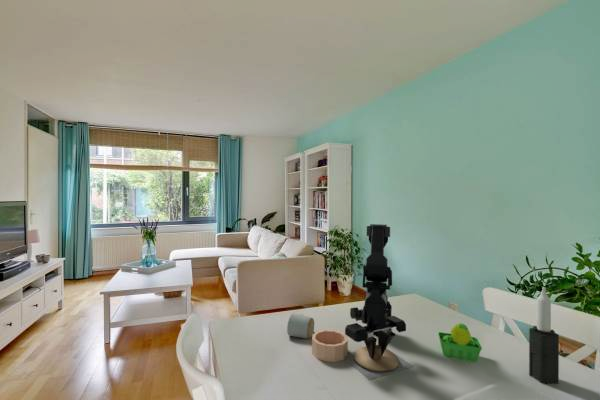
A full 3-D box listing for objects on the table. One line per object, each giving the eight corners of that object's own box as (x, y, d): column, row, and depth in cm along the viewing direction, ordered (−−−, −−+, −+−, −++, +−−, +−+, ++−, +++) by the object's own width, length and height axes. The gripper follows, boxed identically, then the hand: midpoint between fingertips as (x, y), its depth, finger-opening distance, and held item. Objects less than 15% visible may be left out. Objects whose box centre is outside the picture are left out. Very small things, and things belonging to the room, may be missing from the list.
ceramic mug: (309, 343, 100) (309, 320, 101) (286, 339, 103) (286, 316, 103) (317, 330, 110) (317, 309, 111) (296, 327, 113) (296, 307, 113)
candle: (526, 373, 84) (527, 284, 84) (543, 372, 84) (544, 284, 84) (543, 384, 78) (543, 289, 79) (561, 383, 79) (561, 289, 79)
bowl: (335, 342, 101) (335, 327, 101) (354, 358, 91) (354, 341, 91) (306, 349, 96) (306, 333, 96) (323, 366, 86) (323, 349, 86)
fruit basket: (476, 353, 95) (476, 317, 95) (483, 367, 86) (484, 328, 87) (437, 347, 99) (437, 312, 99) (440, 360, 90) (440, 323, 90)
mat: (381, 346, 98) (381, 344, 98) (413, 367, 86) (413, 366, 86) (340, 356, 92) (340, 355, 92) (369, 381, 79) (369, 379, 79)
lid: (378, 345, 97) (378, 334, 97) (408, 365, 86) (408, 352, 86) (345, 353, 92) (345, 341, 92) (372, 375, 80) (372, 362, 80)
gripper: (382, 292, 100) (382, 339, 100) (335, 300, 92) (334, 350, 92) (407, 303, 90) (407, 354, 90) (356, 312, 82) (356, 369, 82)
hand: (375, 356), depth 89 cm, fingers closed on lid, 3 cm apart
